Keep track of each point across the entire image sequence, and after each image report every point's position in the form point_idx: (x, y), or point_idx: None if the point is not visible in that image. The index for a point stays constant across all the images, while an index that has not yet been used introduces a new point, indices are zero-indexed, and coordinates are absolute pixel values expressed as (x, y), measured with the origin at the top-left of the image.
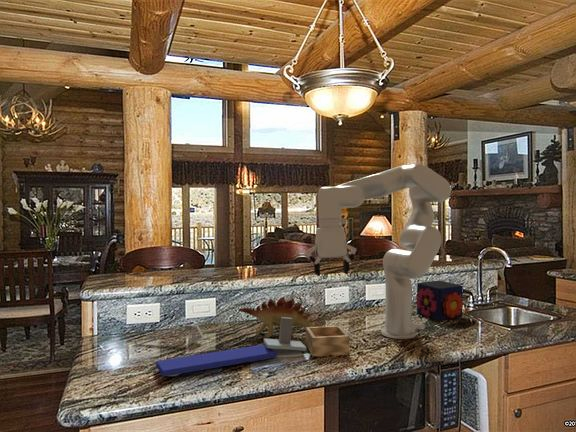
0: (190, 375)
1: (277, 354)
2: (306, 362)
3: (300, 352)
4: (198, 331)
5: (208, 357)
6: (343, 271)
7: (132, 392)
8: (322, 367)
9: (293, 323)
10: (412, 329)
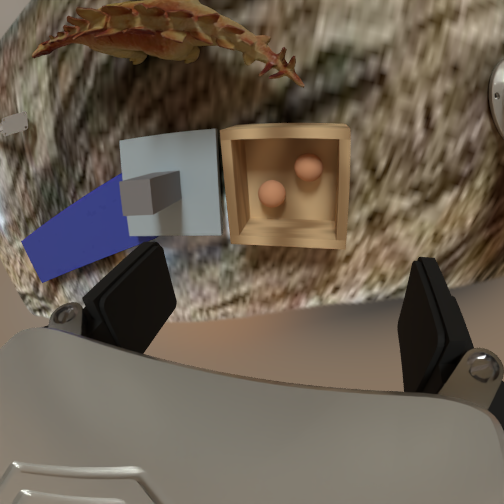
0: None
1: None
2: (226, 252)
3: None
4: (13, 133)
5: (61, 242)
6: (415, 264)
7: (43, 293)
8: (257, 284)
9: (188, 52)
10: None
